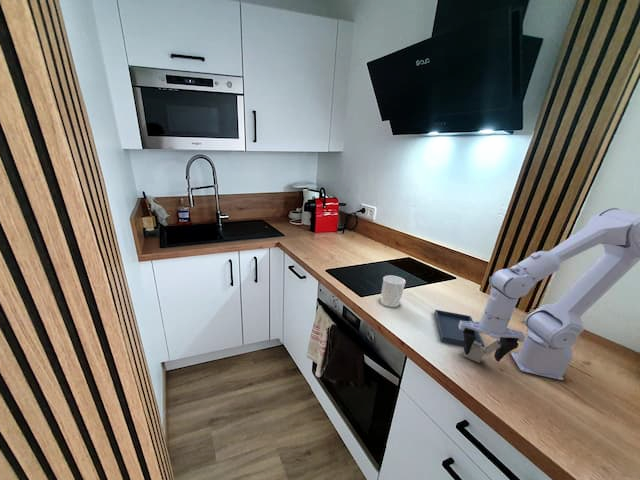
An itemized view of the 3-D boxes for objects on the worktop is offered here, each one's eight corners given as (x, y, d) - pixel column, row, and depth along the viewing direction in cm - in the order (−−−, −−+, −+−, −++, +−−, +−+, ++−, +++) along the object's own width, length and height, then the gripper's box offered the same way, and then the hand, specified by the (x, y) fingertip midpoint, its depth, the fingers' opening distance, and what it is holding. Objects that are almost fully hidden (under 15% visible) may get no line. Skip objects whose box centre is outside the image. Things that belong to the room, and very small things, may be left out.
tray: (468, 320, 100) (470, 316, 99) (482, 350, 85) (484, 345, 84) (433, 314, 104) (435, 309, 103) (441, 341, 89) (442, 336, 88)
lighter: (463, 355, 83) (471, 333, 80) (464, 353, 84) (472, 330, 81) (491, 368, 78) (501, 344, 75) (493, 365, 79) (502, 341, 76)
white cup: (404, 307, 107) (410, 283, 103) (385, 308, 106) (390, 284, 102) (393, 297, 114) (398, 274, 110) (375, 298, 113) (379, 275, 109)
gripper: (469, 315, 73) (454, 357, 78) (537, 328, 68) (517, 372, 74) (463, 303, 79) (449, 342, 84) (525, 313, 75) (507, 355, 80)
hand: (480, 355), depth 80 cm, fingers closed on lighter, 7 cm apart
